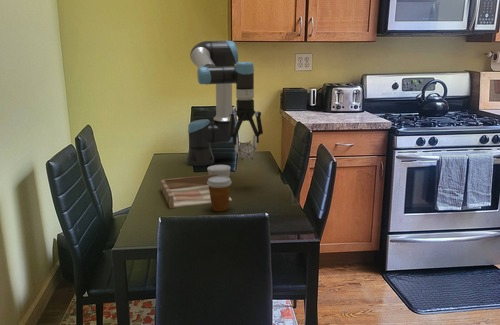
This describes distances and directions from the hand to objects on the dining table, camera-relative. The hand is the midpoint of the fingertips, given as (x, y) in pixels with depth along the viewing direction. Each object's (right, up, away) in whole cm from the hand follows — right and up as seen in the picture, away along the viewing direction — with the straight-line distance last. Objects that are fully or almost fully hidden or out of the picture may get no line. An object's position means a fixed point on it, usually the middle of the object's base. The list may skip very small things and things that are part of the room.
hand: (245, 151), depth 199 cm
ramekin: (-13, -13, +21) cm, 28 cm away
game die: (0, -4, +1) cm, 4 cm away
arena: (-22, -19, -5) cm, 29 cm away
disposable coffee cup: (-10, -23, -21) cm, 33 cm away
